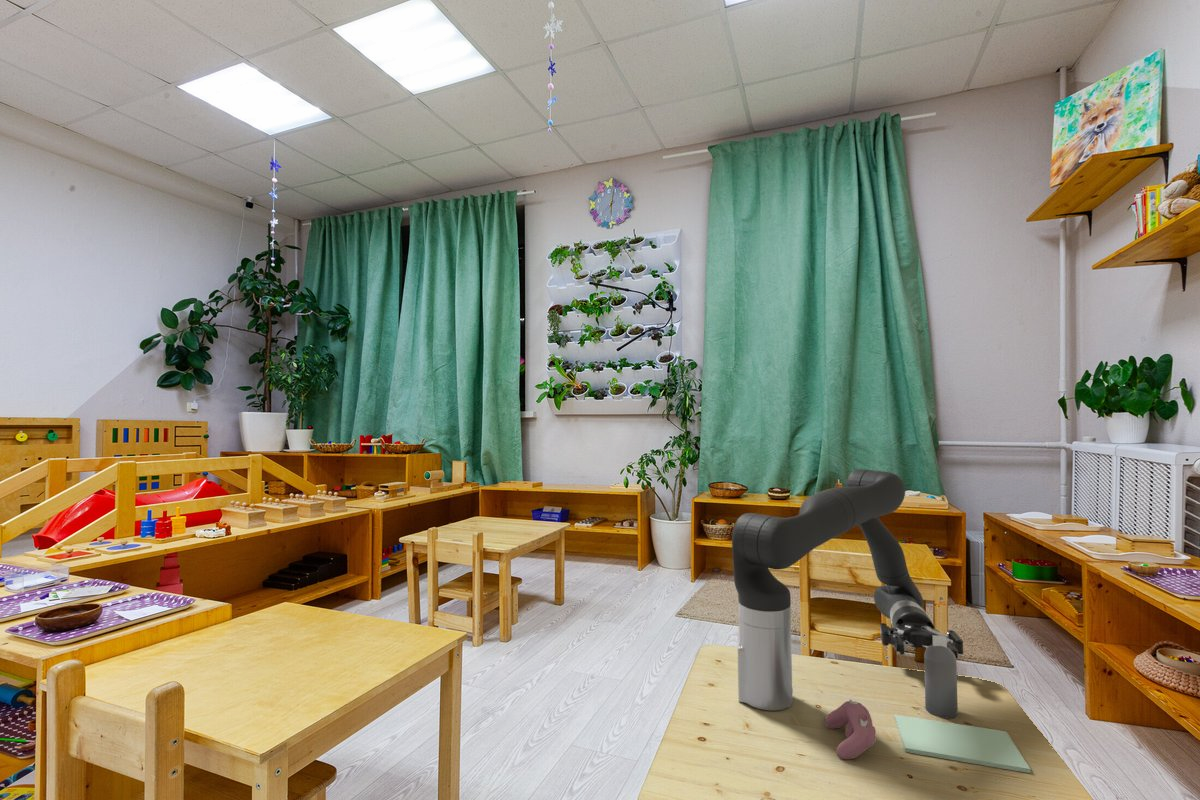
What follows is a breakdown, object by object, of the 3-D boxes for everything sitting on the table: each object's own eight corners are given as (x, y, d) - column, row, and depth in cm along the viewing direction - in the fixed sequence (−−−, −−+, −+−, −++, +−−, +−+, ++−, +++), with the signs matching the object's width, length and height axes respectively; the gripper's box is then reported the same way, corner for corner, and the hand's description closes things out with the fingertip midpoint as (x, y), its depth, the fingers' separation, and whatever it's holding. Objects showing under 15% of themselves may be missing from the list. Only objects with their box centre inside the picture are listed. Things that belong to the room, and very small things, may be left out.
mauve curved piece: (864, 774, 83) (886, 733, 82) (835, 757, 83) (856, 716, 83) (847, 736, 92) (867, 699, 92) (821, 721, 93) (840, 685, 93)
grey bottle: (928, 715, 95) (926, 640, 96) (922, 702, 100) (921, 630, 100) (961, 720, 94) (959, 643, 94) (953, 706, 98) (951, 633, 99)
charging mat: (905, 751, 85) (905, 747, 85) (894, 718, 95) (894, 714, 95) (1030, 773, 80) (1030, 769, 80) (1006, 735, 89) (1006, 731, 89)
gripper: (874, 601, 124) (885, 628, 109) (948, 608, 119) (970, 637, 104) (875, 636, 124) (886, 667, 109) (948, 644, 119) (971, 678, 104)
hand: (927, 652), depth 106 cm, fingers open, 8 cm apart
